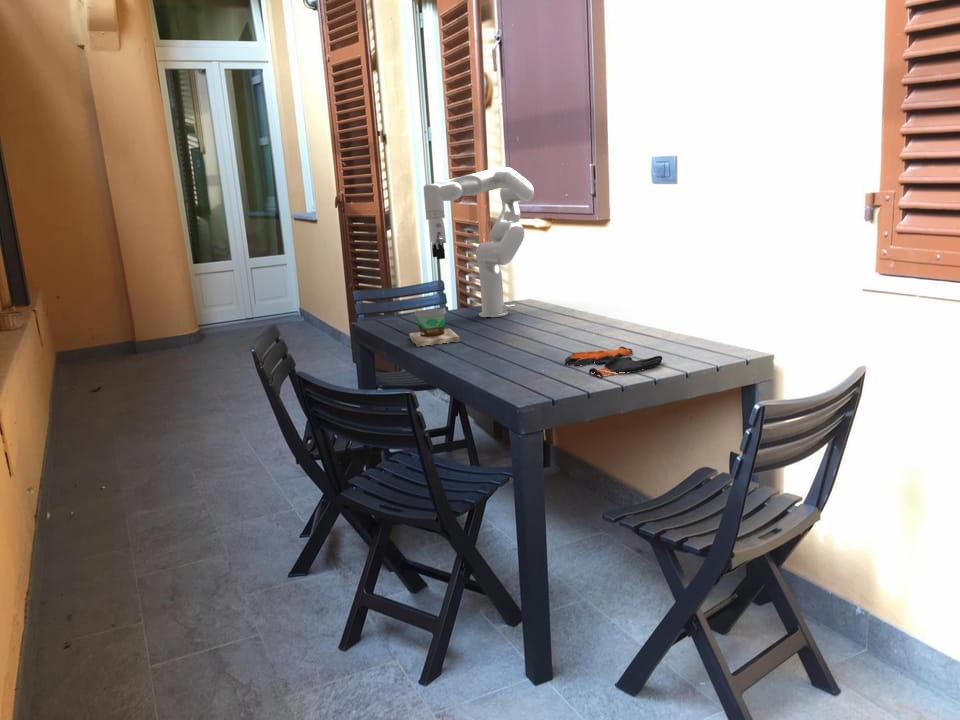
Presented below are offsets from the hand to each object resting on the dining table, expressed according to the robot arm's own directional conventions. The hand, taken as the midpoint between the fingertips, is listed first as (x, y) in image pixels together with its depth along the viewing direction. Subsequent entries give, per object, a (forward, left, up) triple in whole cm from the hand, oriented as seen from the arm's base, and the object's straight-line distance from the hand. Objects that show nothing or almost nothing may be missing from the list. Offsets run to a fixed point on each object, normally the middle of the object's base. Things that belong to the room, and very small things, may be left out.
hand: (438, 257), depth 318 cm
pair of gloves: (-35, +93, -29) cm, 104 cm away
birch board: (+9, +25, -28) cm, 39 cm away
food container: (+9, +26, -26) cm, 38 cm away
